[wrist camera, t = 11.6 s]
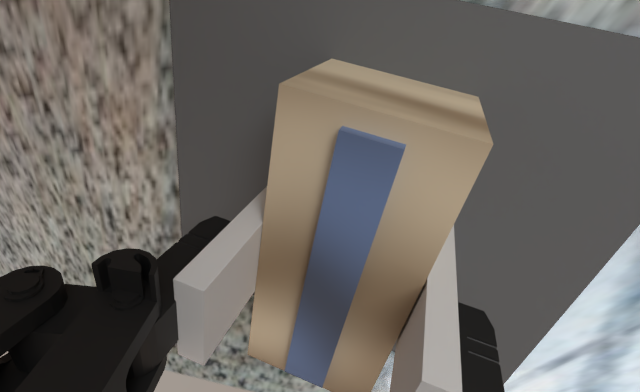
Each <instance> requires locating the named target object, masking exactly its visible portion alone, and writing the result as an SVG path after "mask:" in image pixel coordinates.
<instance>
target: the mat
mask: <svg viewBox="0 0 640 392" xmlns="http://www.w3.org/2000/svg"><path fill="white" fill-rule="evenodd" d="M169 1H170V20H171V39H172V58H173V77H174V96H175V115H176V134H177V153H178V172H179V191H180V210H181V229H182V237H183V236H184V235H186V234H188V232H189V231H190V230H191V229H193V228H194V227H195V226H196V225H197V224H198V223H199V222H201V221H204V220H206V219H209V218H211V217H213V216H218V217H221V218H224V219H226V220H229V221H232V220H233V219H234V218H235V217H236V216H237V215H238V214H239V213H240V212H241V211H242V210H243V209H244V208H245V207H246V206H247V205H248V204H249V203H250V202H251V201H252V200H253V199H254V198H255V197H256V196H257V195H258V194H259V193H260V192H261V191H262V190H263V189H264V188H265V187H267V184H268V175H269V167H270V158H271V149H272V141H273V132H274V124H275V115H276V107H277V98H278V89H279V84H280V83H282V82H284V81H286V80H288V79H290V78H292V77H294V76H296V75H298V74H300V73H303V72H305V71H307V70H309V69H311V68H313V67H315V66H317V65H319V64H321V63H323V62H326V61H328V60H330V59H336V60H340V61H343V62H347V63H351V64H355V65H359V66H363V67H366V68H370V69H374V70H378V71H382V72H385V73H389V74H393V75H397V76H401V77H405V78H408V79H412V80H416V81H420V82H424V83H428V84H431V85H435V86H439V87H443V88H447V89H450V90H454V91H458V92H462V93H466V94H470V95H473V96H477V97H479V100H480V103H481V106H482V109H483V112H484V116H485V119H486V122H487V125H488V128H489V132H490V135H491V138H492V141H493V146H492V148H491V150H490V152H489V154H488V156H487V158H486V160H485V162H484V164H483V167H482V169H481V171H480V173H479V175H478V177H477V179H476V181H475V183H474V185H473V187H472V189H471V191H470V193H469V195H468V197H467V199H466V201H465V203H464V205H463V207H462V209H461V211H460V213H459V215H458V217H457V219H456V221H455V223H454V237H455V257H456V276H457V296H458V302H460V303H463V304H465V305H468V306H471V307H474V308H477V309H479V310H482V311H484V312H485V313H486V315H487V317H488V319H489V320H490V322H491V324H492V326H493V327H494V330H495V336H496V342H497V350H498V355H499V361H500V362H499V365H500V367H501V374H502V380H503V384H504V383H505V382H506V381H507V380H508V378H509V377H510V376H511V375H512V374H513V372H514V371H515V370H516V369H517V368H518V367H519V365H520V364H521V363H522V362H523V361H524V360H525V358H526V357H527V356H528V355H529V354H530V352H531V351H532V350H533V349H534V348H535V347H536V345H537V344H538V343H539V342H540V341H541V340H542V338H543V337H544V336H545V335H546V334H547V333H548V331H549V330H550V329H551V328H552V327H553V325H554V324H555V323H556V322H557V321H558V320H559V318H560V317H561V316H562V315H563V314H564V313H565V311H566V310H567V309H568V308H569V307H570V305H571V304H572V303H573V302H574V301H575V300H576V298H577V297H578V296H579V295H580V294H581V293H582V291H583V290H584V289H585V288H586V287H587V286H588V284H589V283H590V282H591V281H592V280H593V278H594V277H595V276H596V275H597V274H598V273H599V271H600V270H601V269H602V268H603V267H604V266H605V264H606V263H607V262H608V261H609V260H610V259H611V257H612V256H613V255H614V254H615V253H616V251H617V250H618V249H619V248H620V247H621V246H622V244H623V243H624V242H625V241H626V240H627V239H628V237H629V236H630V235H631V234H632V233H633V231H634V230H635V229H636V228H637V227H638V226H639V224H640V38H638V37H634V36H629V35H624V34H619V33H614V32H609V31H605V30H600V29H595V28H590V27H585V26H580V25H576V24H571V23H566V22H561V21H556V20H551V19H547V18H542V17H537V16H532V15H527V14H522V13H518V12H513V11H508V10H503V9H498V8H493V7H489V6H484V5H479V4H474V3H469V2H465V1H460V0H169ZM252 295H255V292H254V293H253V294H252ZM396 343H397V340H396V342H395V344H394V346H393V348H392V351H394V352H395V350H396Z"/></svg>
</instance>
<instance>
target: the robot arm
mask: <svg viewBox="0 0 640 392" xmlns="http://www.w3.org/2000/svg"><path fill="white" fill-rule="evenodd" d="M266 192H267V187H265V188H264V189H263V190H262V191H261V192H260V193H259V194H258V195H257V196H256V197H255V198H254V199H253V200H252V201H251V202H250V203H249V204H248V205H247V206H246V207H245V208H244V209H243V210H242V211H241V212H240V213H239V214H238V215H237V216H236V217H235V218H234V219H233V220H232V221H229V220H226V219H224V218H221V217H218V216H213V217H211V218H209V219H206V220H204V221H201V222H199V223H198V224H197V225H196V226H195V227H194V228H193V229H191V230H190V231H189V232H188V234H186V235H184V236H183V237H182V238H181V239H180V240H179V242H178V243H177V242H176V243H175V244H174V245H173V246H172V247H171V248H169V249H168V250H167V251H166V252H165V253H164V254H163V255H161V256H160V257H159V258H158V259H157V260H156V258H155V257H154V256H152V255H151V254H150V253H149V252H146V251H143V250H140V249H122V250H116V251H112V252H110V253H108V254H105V255H103V256H101V257H100V258H98V259H97V260H96V261H94V262H93V263H92V269H93V273H94V277H95V281H96V286H97V287H91V286H81V285H71V284H64V282H63V278H62V275H61V273H60V272H59V271H57V270H56V269H55V268H52V267H47V266H29V267H25V268H22V269H18V270H14V271H12V272H10V273H8V274H6V275H4V276H2V277H0V356H1V355H3V354H4V353H5V352H7V351H8V352H9V353H8V354H6V355H4V356H2V357H1V358H0V392H154V390H155V388H156V386H157V383H158V381H159V379H160V377H161V375H162V373H163V371H164V369H165V365H166V361H167V358H166V355H167V353H168V352H169V351H170V350H171V348H172V347H173V346H174V345H175V343H176V342H177V346H178V354H179V355H181V356H183V357H185V358H187V359H190V360H192V361H194V362H196V363H198V364H201V365H203V366H204V365H205V364H206V362H207V361H208V359H209V358H210V356H211V355H212V353H213V352H214V350H215V349H216V348H217V346H218V345H219V343H220V342H221V340H222V339H223V337H224V336H225V334H226V333H227V331H228V330H229V328H230V327H231V325H232V324H233V322H234V321H235V320H236V318H237V317H238V315H239V314H240V312H241V311H242V309H243V308H244V306H245V305H246V303H247V302H248V300H249V299H250V297H251V296H252V294H253V293H254V292H255V287H256V278H257V269H258V261H259V252H260V244H261V235H262V227H263V218H264V209H265V201H266ZM499 362H500V361H499V355H498V350H497V342H496V336H495V330H494V327H493V326H492V324H491V322H490V320H489V319H488V317H487V315H486V313H485V312H484V311H482V310H479V309H477V308H474V307H471V306H468V305H465V304H463V303H460V302H458V296H457V276H456V257H455V237H454V225H453V227H452V229H451V231H450V233H449V235H448V237H447V239H446V241H445V243H444V245H443V247H442V249H441V251H440V253H439V255H438V257H437V259H436V261H435V263H434V265H433V267H432V269H431V271H430V273H429V275H428V277H427V280H426V282H425V284H424V286H423V288H422V290H421V292H420V294H419V296H418V298H417V300H416V302H415V304H414V306H413V308H412V310H411V312H410V314H409V316H408V318H407V320H406V322H405V324H404V326H403V328H402V330H401V332H400V334H399V336H398V338H397V343H396V350H395V357H394V364H393V372H392V379H391V386H390V392H504V386H503V380H502V374H501V367H500V365H499Z"/></svg>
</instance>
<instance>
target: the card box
mask: <svg viewBox="0 0 640 392" xmlns="http://www.w3.org/2000/svg"><path fill="white" fill-rule="evenodd" d="M492 146H493V141H492V138H491V135H490V132H489V128H488V125H487V122H486V119H485V116H484V112H483V109H482V106H481V103H480V100H479V97H477V96H473V95H470V94H466V93H462V92H458V91H454V90H450V89H447V88H443V87H439V86H435V85H431V84H428V83H424V82H420V81H416V80H412V79H408V78H405V77H401V76H397V75H393V74H389V73H385V72H382V71H378V70H374V69H370V68H366V67H363V66H359V65H355V64H351V63H347V62H343V61H340V60H336V59H330V60H328V61H326V62H323V63H321V64H319V65H317V66H315V67H313V68H311V69H309V70H307V71H305V72H303V73H300V74H298V75H296V76H294V77H292V78H290V79H288V80H286V81H284V82H282V83H280V84H279V89H278V98H277V107H276V115H275V124H274V132H273V141H272V149H271V158H270V167H269V175H268V184H267V192H266V201H265V209H264V218H263V227H262V235H261V244H260V252H259V261H258V269H257V278H256V287H255V295H254V304H253V312H252V321H251V329H250V338H249V347H248V355H250V356H252V357H254V358H257V359H259V360H261V361H263V362H266V363H268V364H270V365H272V366H275V367H277V368H279V369H282V370H284V371H285V372H287V373H290V374H292V375H294V376H297V377H299V378H301V379H303V380H306V381H308V382H310V383H312V384H315V385H317V386H319V387H321V388H325V389H327V390H329V391H331V392H371V390H372V388H373V386H374V384H375V382H376V380H377V378H378V376H379V374H380V372H381V370H382V368H383V366H384V364H385V362H386V360H387V358H388V356H389V354H390V352H391V350H392V348H393V346H394V344H395V342H396V340H397V338H398V336H399V334H400V332H401V330H402V328H403V326H404V324H405V322H406V320H407V318H408V316H409V314H410V312H411V310H412V308H413V306H414V304H415V302H416V300H417V298H418V296H419V294H420V292H421V290H422V288H423V286H424V284H425V282H426V280H427V277H428V275H429V273H430V271H431V269H432V267H433V265H434V263H435V261H436V259H437V257H438V255H439V253H440V251H441V249H442V247H443V245H444V243H445V241H446V239H447V237H448V235H449V233H450V231H451V229H452V227H453V225H454V223H455V221H456V219H457V217H458V215H459V213H460V211H461V209H462V207H463V205H464V203H465V201H466V199H467V197H468V195H469V193H470V191H471V189H472V187H473V185H474V183H475V181H476V179H477V177H478V175H479V173H480V171H481V169H482V167H483V164H484V162H485V160H486V158H487V156H488V154H489V152H490V150H491V148H492Z"/></svg>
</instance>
